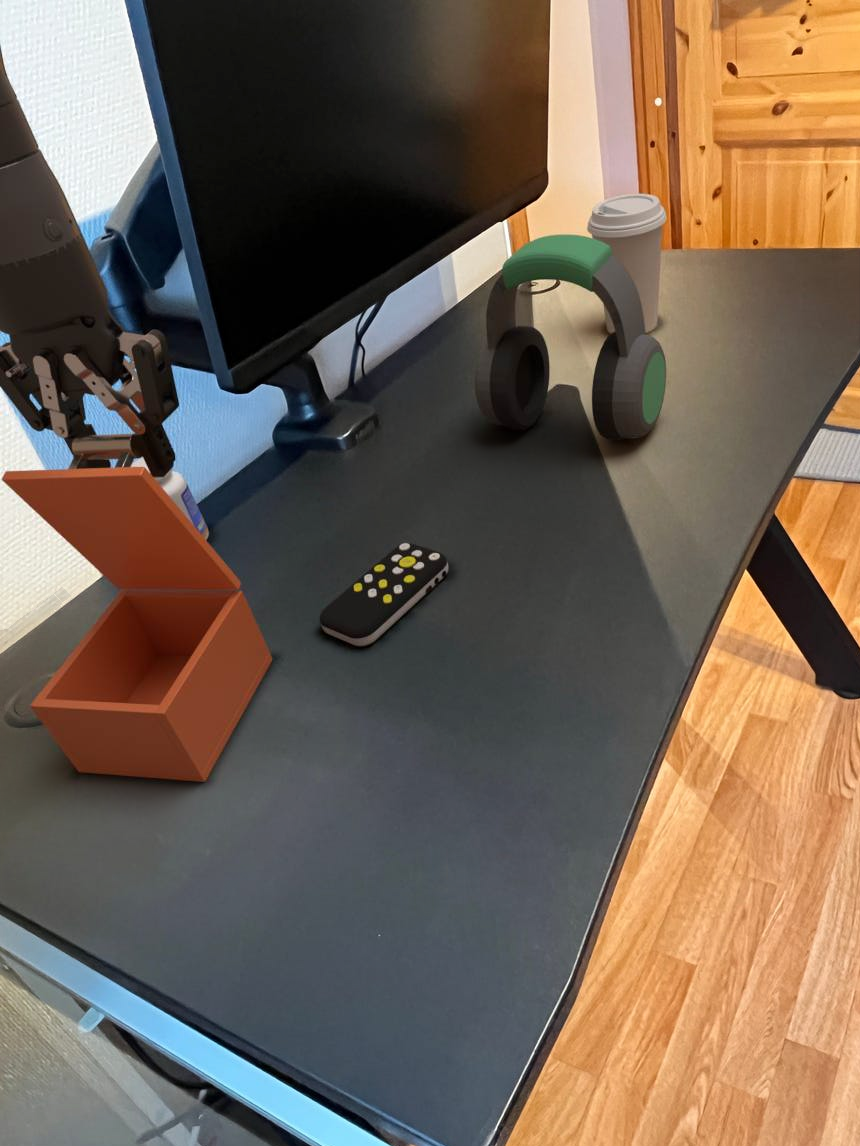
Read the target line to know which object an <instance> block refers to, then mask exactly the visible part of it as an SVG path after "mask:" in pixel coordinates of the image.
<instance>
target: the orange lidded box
mask: <svg viewBox="0 0 860 1146" xmlns="http://www.w3.org/2000/svg"><path fill="white" fill-rule="evenodd" d="M273 660H274V659H273V657H272V654H271V652H270V649H269V647H268V645H267V643H266V641H265V639H264V637H263V635H262V632H261V630H260V628H259V624H258V623H257V621H256V619H255V616H254V615H253V612H252V610H251V608H250V605H249V603H248V600H247V599H246V596H245V594H244V593H243V591H242V590H186V589H120V591H119V592H118V594H117V595H116V596H115V597H114V599H112V601H111V602H110V604H109V605H108V606H107V607H106V609H105V610H104V611H103V612H102V613H101V615H100V616H99V618H98V619H97V620H96V621H95V622H94V624H93V625H92V626H91V627H90V629H89V630H88V631H87V632H86V634H85V635H84V637H83V638H82V639H81V641H80V642H79V643H78V644H77V646H75V648H74V649H73V651H72V652H71V653H70V654H69V656H68V657H66V660H64V662H63V663H62V664H61V666H60V667H59V668H58V669H57V670H56V672H55V673H54V674H53V676H52V677H51V678H50V679H49V681H48V682H47V684H46V685H45V686H44V687H43V688H42V690H41V691H40V692H39V693H38V695H37V696H36V697H35V698H34V700H33V701H32V702H31V704H30V705H29V707H30V709H31V710H32V711H33V712H34V714H35V715H36V716H37V718H38V720H40V722H41V723H42V725H43V726H44V728H45V729H46V730H47V732H49V734H50V735H51V737H52V738H53V739H54V741H55V742H56V743H57V745H58V747H60V749H61V750H62V752H63V753H64V754H65V756H66V757H67V758H68V759H69V761H70V762H71V764H72V766H74V767H75V769H76V770H77V772H79V773H87V774H97V775H99V774H100V775H110V776H114V775H115V776H123V777H125V776H126V777H136V778H149V779H150V778H151V779H160V780H161V779H162V780H172V781H173V780H174V781H187V782H197V783H199V782H200V783H206V782H207V779H208V777H209V775H210V774H211V771H212V770H213V768H214V767H215V765H216V764H217V762H218V760H219V758H220V756H221V754H222V752H223V750H224V748H225V746H226V745H227V743H228V741H229V740H230V738H231V736H232V734H233V732H234V730H235V729H236V727H237V725H238V723H239V721H240V720H241V719H242V716H243V714H244V713H245V710H246V709H247V707H248V705H249V703H250V702H251V700H252V698H253V696H254V694H255V692H256V690H257V688H259V685H260V683H261V681H262V679H263V678H264V676H265V674H266V672H267V670H268V669H269V667H270V666H271V663H272V661H273Z"/></svg>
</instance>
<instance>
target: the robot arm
mask: <svg viewBox="0 0 860 1146" xmlns="http://www.w3.org/2000/svg"><path fill="white" fill-rule="evenodd" d="M37 141H38V140H37V139H36V137H35V135H34V133H33V130H32V128H31V125H30V123H29V120H28V119H27V117H26V114H25V112H24V110H23V108H22V105H21V103H20V100H19V99H18V96H17V94H16V91H15V89H14V88H13V85H12V84H11V82H10V78H9V77H8V73H7V71H6V66H5V61H4V57H3V52H2V47H1V45H0V332H1V333H3V334H5V335H8V336H9V341H7V342H4V344H1V346H0V388H1V390H2V391H3V392H4V394H5V395H6V396H7V398H8V400H10V402H11V403H12V404H13V405H14V407H15V408H16V409H17V410H18V412H19V413H20V414H21V416H22V417H23V418H24V420H25V421H26V422H27V424H28V425H29V426H30V428H32V429H33V430H34V431H36V432H43V431H44V430H45V429H46V430H48V431H51V432H53V433H54V434H55V435H56V436H57V437H58V438H60V439H63V441H64V442H65V444H66V446H67V447H68V449H69V452H70V453H71V456H72V458H74V456H75V455H74V453H73V451H72V442H73V439H74V438H75V437H77V436H85V435H98V434H97V432H96V430H95V428H94V426H93V424H92V423H85V422H86V420H87V415H86V409H85V401H84V397H85V395H90V396H96V398H97V399H98V400H99V401H100V402H101V404H102V405H103V406H104V407H105V408H106V409H107V410H108V411H114V412H115V413H116V414H117V415H118V416H119V417H120V418H121V419H122V421H123V422H124V423H125V424H126V425H127V426H128V428H129V429H130V430H131V431H132V433H135V434H134V435H133V437H134V439H135V442H136V444H137V446H138V448H139V450H140V452H141V454H142V456H143V457H142V458H144V461H145V463H146V465H147V467H148V469H149V471H150V473H151V475H152V476H153V477H164V476H165V475H166V474H167V473H168V472H169V471H170V470H171V469H172V470H173V467H174V465H175V462H176V459H177V458H176V453H175V450H174V448H173V445H172V444H171V441H170V438H169V437H168V434H167V432H166V429H165V428H164V426H163V423H164V422H165V421H166V420H167V419H168V418H169V417H171V415H172V414H173V413H174V412H175V411H176V410H177V409H178V408H179V407H180V401H179V397H178V396H179V395H178V391H177V386H176V382H175V381H176V380H175V377H174V372H173V367H172V363H171V362H172V361H171V357H170V353H169V347H168V343H167V338H166V336H165V334H164V333H163V332H162V331H161V330H159V329H151V330H150V331H149V332H147V334H139V333H132V332H126V330H125V328H124V327H123V326H122V325H121V324H120V323H119V322H118V321H117V320H116V318H115V317H114V316H113V314H112V313H111V311H110V308H109V300H108V299H109V298H108V290H107V286H106V285H105V283H104V280H103V278H102V276H101V273H100V271H99V269H98V266H97V264H96V262H95V260H94V257H93V256H92V254H91V250H90V249H89V247H88V244H87V242H86V239H85V238H84V235H83V233H82V231H81V228H80V226H79V224H78V221H77V219H76V217H75V214H74V212H73V210H72V208H71V206H70V203H69V201H68V199H67V196H66V194H65V193H64V190H63V188H62V186H61V184H60V182H59V180H58V179H57V177H56V175H55V174H54V172H53V170H52V169H51V167H50V165H49V164H48V161H47V160H46V158H45V156H44V154H43V152H42V150H41V149H40V148H39V144H38V142H37ZM125 356H127V357H128V359H129V361H128V360H127V359H126V357H125ZM119 380H120V382H121V387H120V388H119V389H117V390H116V389H114V387H113V386H114V385H117V383H118V382H119ZM31 396H32V397H33V398H34V399H35V401H36V403H37V404H38V405H39V406H40V408H38V407H37V406H36V405H35V403H34V402H33V401H32V399H31ZM132 403H133V404H134V405H133V404H132ZM137 409H138V410H139V411H138V410H137ZM88 468H112V463H111V460H88V461H87V463H86V465H85V467H84V469H88Z"/></svg>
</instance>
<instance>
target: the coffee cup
mask: <svg viewBox="0 0 860 1146" xmlns="http://www.w3.org/2000/svg"><path fill="white" fill-rule="evenodd" d="M667 218H668V217H667V214H666V211H665V208H664V206H663V205H661V201H660V198H659V197H658V196H656V195H653V194H649V193H629V194H628V193H627V194H622V195H617V196H612V197H609V198H607V199H604V200H602V201H600V202H598V203H597V204H595V205H594V206H593V208H592V211H591V216H589V218H588V222H587V227H586V230H587V233H589V234H590V235H591V238H593V239H596V240H598V241H601V242H603V243H605V244H607V245H609V246H610V247H611V249H612V254H613V255H614V256H615V257H616V258H617V259H618V260H619V261H620V262H621V263H622V264H623V265H624V266H625V268H626V269H627V271H628V272H629V274H630V275H631V277H632V279H633V281H634V283H635V286H636V288H637V291H638V294H639V297H640V301H641V305H642V310H643V316H644V323H645V332H646V334H648V333H649V332H652V331H653V330H654V329H656V327H657V326H658V318H659V317H658V315H659V297H660V279H661V259H662V242H663V241H662V240H663V225H664V224H665V223H666V221H667V220H668V219H667ZM602 305H603V310H604V312H603V313H604V317H605V323H606V329H607V332H608V333H609V334H611V333H613V332H615V328H614V325H613V322H612V319H611V317H610V315H609V312H608V311H607V309H606V307H605V305H604V304H603V303H602Z"/></svg>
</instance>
